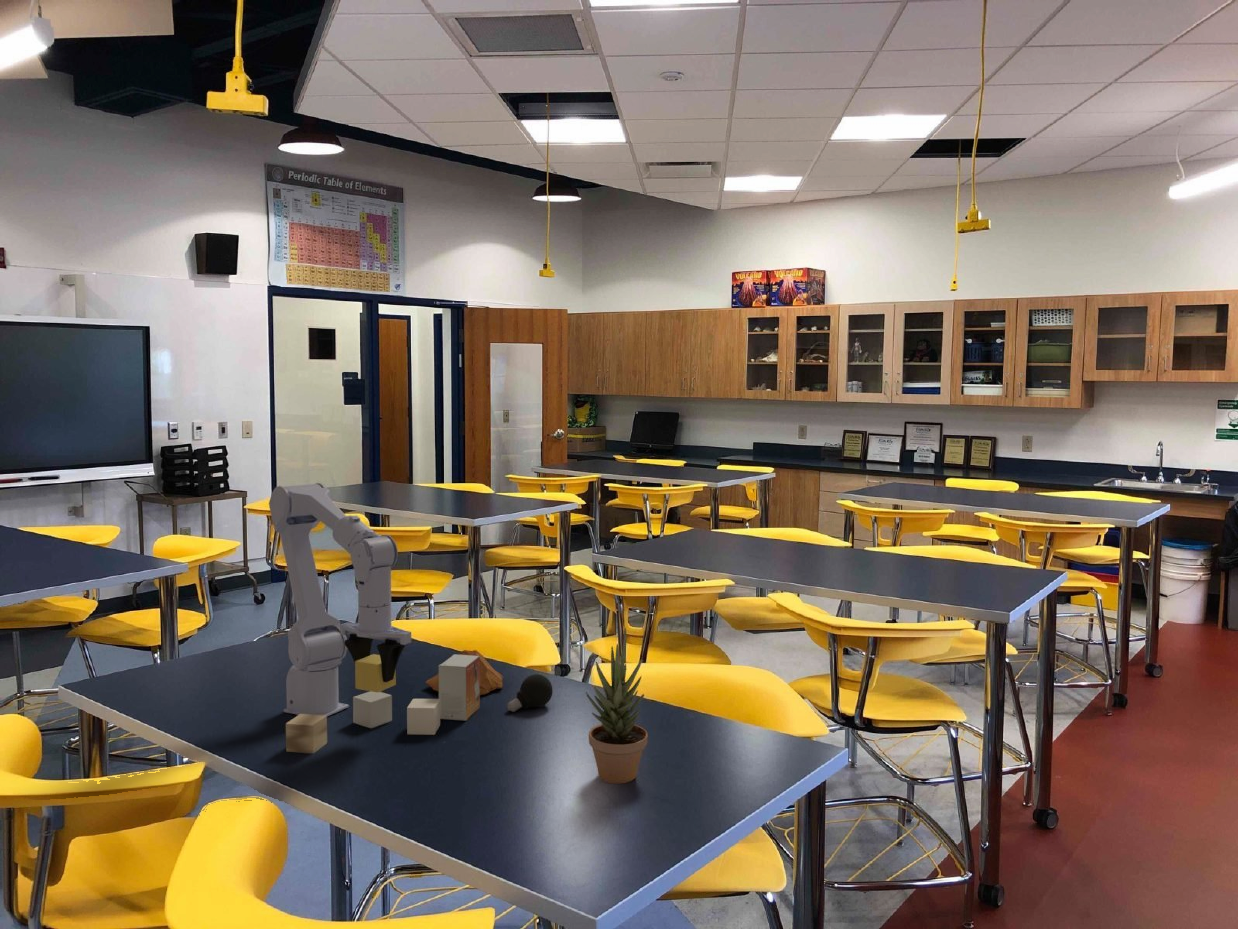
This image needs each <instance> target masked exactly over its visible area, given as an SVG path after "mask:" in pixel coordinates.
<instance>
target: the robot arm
mask: <svg viewBox="0 0 1238 929" xmlns="http://www.w3.org/2000/svg"><path fill="white" fill-rule="evenodd" d="M268 506H269V511H270V516H271V520H272V525H273V528H274V531H275V532H276V533H279V536H280V541H281V546H282V550H283V554H284V559H285V563H286V569H287V573H288V578H289V581H290V586H291V591H292V595H293V599H294V600H293V601H294V604H295V609H296V612H297V613H296V614H297V617H298V619H297V620H296V621H295V623H294V624H293V625H292V626H290V629H289V630H288V631H287V638H288V648H287V651H288V658H289V660H290V662H291V664H292V665H291V667H290V668H289V669H288V671H287V675H286V677H285V678H286V679H285V680H286V682H285V685H286V686H285V687H286V688H285V690H286V708H283V712H284V713H287V714H293V715H296V716H298V715H299V714H311V715H324V716H327V717H329V716H331V715H333V714H336V713H338V712H341V711H343V710H345V709H347V708H349V707H350V705H349V704H347V703H341V702H340V700H339V698H340V696H339V695H340V694H339V665H342V659H344V658H345V657H346V654H347V651H348V652H349V653H350V655H351V657H352V658H351V659H352V660H353V663H354V664H355V661H357V660H360V659H362V658H365V657H367V656H370V655H371V651H372V644H373V640H378V641H384V642H382V643H379V644H377V645H376V649H377V651H378V655H380V658H381V664H382V678H383V682H388V681H391V680H393V678H394V673H395V669H396V668H397V665H398V662H399V659H400V656H401V654H402V652H403V650H404V649H405V647H406V646H407V644H410V643H412V631H409V630H405V629H401V628H398V627H396V626H392V567H393V566H395V565H396V563H397V561H398V556H399V553H398V551H399V550H398V547H397V543H396V541H395V539H394V538H392V537H391V535H389V534H382V535H381V534H377V533H375V531H374V530H373V529H371V528H370V527H369V526H367V525H366V524H365V523H364V522H363V521H362V520H361V518H360V517H359V516H358V515H346V514H345V513H344V512H343V511H342V510H341V508H339V506H337V504H336V503H335V502H333V500H332V495H331V491H330V489H329V488H327V487H326V486H325V485H324V484H323V483H321V482H317V483H311V484H300V485H287V486H281V485H278V486H275V487H274V489H273V491H272V492H271V495H270V498H269V501H268ZM320 523H322V524H323V525H325V526H326V527H327V528H329V530H332V538H333V540H334V541H335V542H336V543H337V544H338V545H339V546H340V547H341V548H343V549H344V550H345V551H346V552H347V553H348V555H349V556H350V561H351V564H352V566H353V569H354V577H355V580H356V581H357V597H358V598H357V599H358V600H357V601H358V602H357V603H358V606H357V608H358V622H345V623H341V621H340V620H339V618H337V617H335V616H333V615H331V614H329V613H328V612H327V611H326V606H325V602H324V598H323V593H322V592H323V591H322V589H321V585H320V580H319V576H318V571H317V567H316V563H315V558H314V557H315V556H314V554H313V549H312V545H311V540H310V533H311V531H312V530H313V529H315V528H316V527H318V525H319V524H320ZM315 631H316V632H315ZM309 632H310V633H309ZM347 636H349V637H348V638H347Z"/></svg>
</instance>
